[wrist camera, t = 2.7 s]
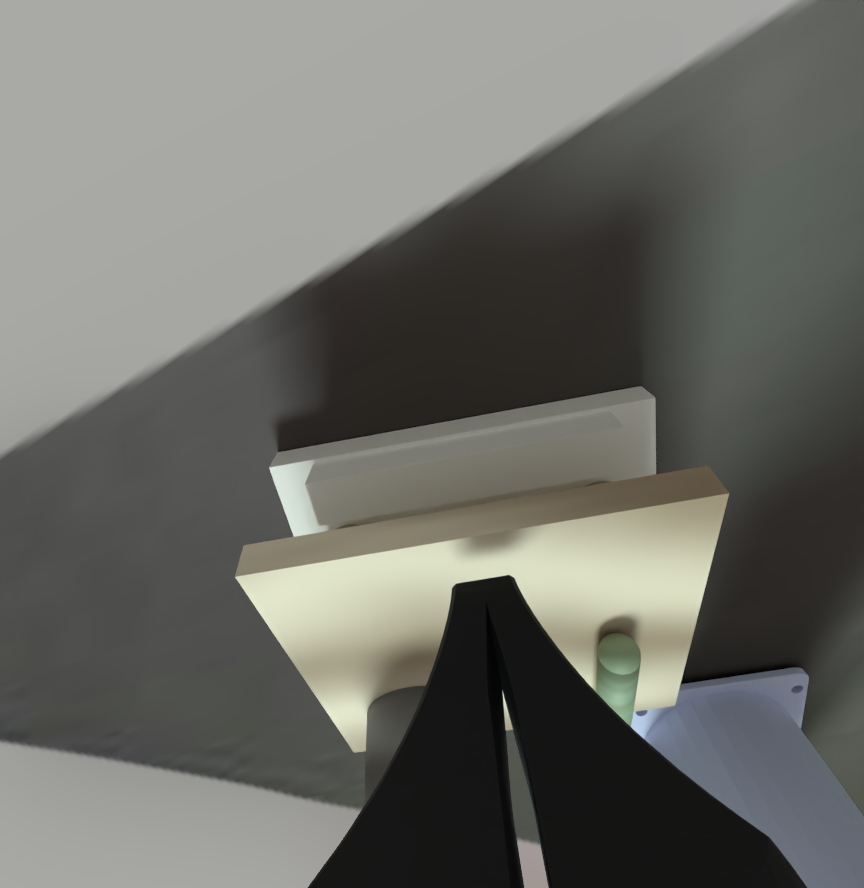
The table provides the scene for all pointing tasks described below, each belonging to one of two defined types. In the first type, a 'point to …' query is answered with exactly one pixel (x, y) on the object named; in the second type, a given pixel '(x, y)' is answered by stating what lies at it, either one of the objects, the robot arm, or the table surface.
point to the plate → (486, 556)
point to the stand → (468, 461)
